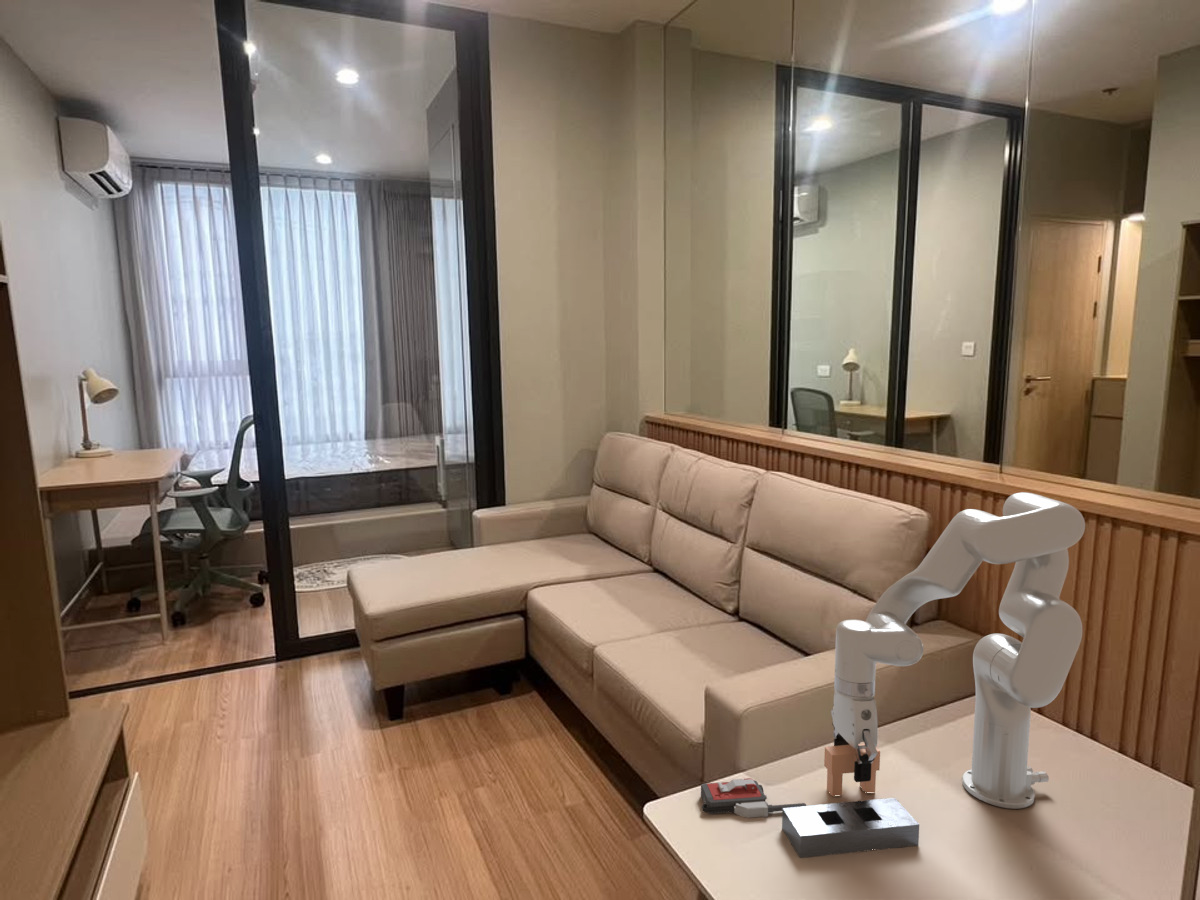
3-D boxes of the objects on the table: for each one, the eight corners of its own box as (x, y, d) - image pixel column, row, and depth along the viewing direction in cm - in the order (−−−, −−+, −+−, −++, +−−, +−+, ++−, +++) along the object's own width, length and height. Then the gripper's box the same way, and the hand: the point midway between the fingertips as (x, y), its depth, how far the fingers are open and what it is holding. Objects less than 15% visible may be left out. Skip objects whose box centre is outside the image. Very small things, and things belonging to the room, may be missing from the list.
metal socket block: (893, 817, 134) (894, 797, 134) (918, 845, 126) (919, 824, 126) (782, 828, 131) (782, 808, 131) (799, 857, 124) (800, 836, 123)
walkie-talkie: (705, 824, 134) (808, 815, 136) (705, 801, 133) (808, 794, 135) (694, 796, 142) (790, 789, 144) (694, 775, 142) (791, 768, 144)
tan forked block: (870, 784, 145) (871, 742, 144) (878, 794, 142) (880, 751, 141) (823, 789, 144) (824, 746, 143) (830, 798, 140) (832, 755, 139)
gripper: (896, 703, 132) (892, 792, 134) (851, 665, 149) (848, 744, 151) (858, 706, 131) (855, 796, 133) (817, 667, 148) (814, 747, 150)
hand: (851, 768), depth 142 cm, fingers open, 7 cm apart
